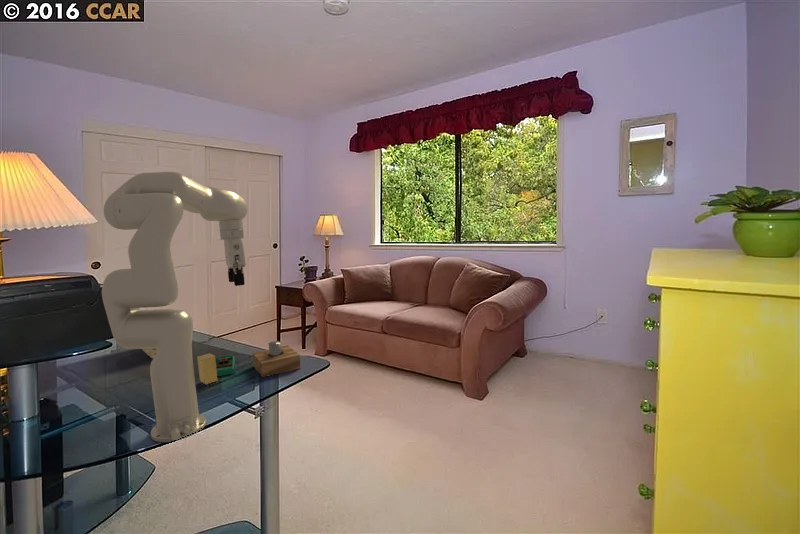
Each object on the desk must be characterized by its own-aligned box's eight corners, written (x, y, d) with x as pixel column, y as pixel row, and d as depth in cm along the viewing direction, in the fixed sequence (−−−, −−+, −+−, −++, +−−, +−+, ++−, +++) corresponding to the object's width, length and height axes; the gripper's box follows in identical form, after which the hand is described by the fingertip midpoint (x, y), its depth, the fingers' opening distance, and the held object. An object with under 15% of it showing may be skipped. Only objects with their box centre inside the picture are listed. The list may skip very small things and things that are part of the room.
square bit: (217, 381, 135) (214, 355, 134) (205, 386, 132) (202, 359, 131) (212, 378, 138) (209, 353, 136) (200, 382, 135) (197, 356, 133)
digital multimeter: (235, 361, 155) (234, 353, 154) (234, 375, 141) (233, 367, 140) (214, 364, 152) (213, 356, 152) (211, 379, 138) (210, 371, 138)
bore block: (300, 368, 144) (299, 354, 143) (262, 377, 137) (261, 363, 136) (288, 357, 155) (287, 345, 154) (253, 366, 148) (252, 352, 147)
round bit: (283, 367, 145) (281, 343, 144) (272, 370, 143) (270, 345, 142) (280, 364, 148) (278, 340, 147) (269, 366, 146) (267, 342, 145)
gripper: (249, 234, 137) (253, 285, 139) (238, 233, 151) (242, 279, 153) (225, 236, 132) (230, 288, 135) (216, 234, 147) (220, 281, 149)
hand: (236, 283), depth 144 cm, fingers open, 9 cm apart
